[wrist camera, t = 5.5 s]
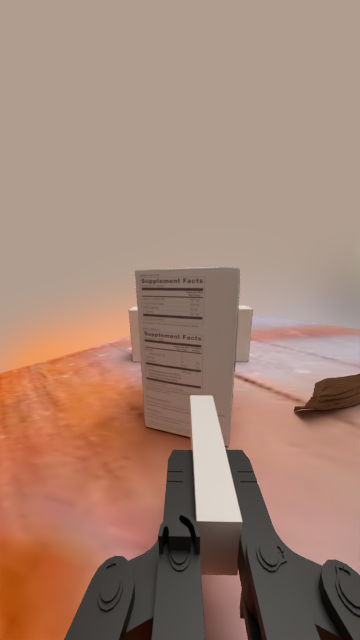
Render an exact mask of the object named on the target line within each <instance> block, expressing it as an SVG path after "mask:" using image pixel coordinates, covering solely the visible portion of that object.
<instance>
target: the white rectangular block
mask: <svg viewBox="0 0 360 640" xmlns="http://www.w3.org/2000/svg"><path fill="white" fill-rule="evenodd" d="M252 315H253V309H251V308H250V307H248V306H244V305H243V306H239V312H238V328H237V344H236V360H235V361H249V351H250V339H251V327H252ZM129 319H130V333H131V345H132V358H133V362H141V354H140V338H139V323H138V308H137V306H136V307H133V308H131V309H130V310H129Z"/></svg>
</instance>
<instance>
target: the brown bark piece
mask: <svg viewBox="0 0 360 640" xmlns="http://www.w3.org/2000/svg"><path fill="white" fill-rule="evenodd" d="M359 403H360V374H357V375H352V376H346V377H338V378H327V379H324V380H322V381H319V382H317V383H315V388H314V392H313V397H311V399H310V400H309V401H308V402H307V403H306V405H305V406H297V407H295V409H294V411H297V410H300V409H316V410H327V409H335V408H344V407H348V406H354V405H356V404H359Z"/></svg>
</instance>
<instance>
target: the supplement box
mask: <svg viewBox="0 0 360 640" xmlns="http://www.w3.org/2000/svg"><path fill="white" fill-rule="evenodd" d="M135 276H136V292H137V308H138V323H139V338H140V354H141V370H142V386H143V401H144V416H145V426H146V427H150V428H154V429H158V430H162V431H167V432H171V433H175V434H179V435H183V436H187V437H190V395H212V396H213V399H214V403H215V408H216V412H217V416H218V420H219V424H220V429H221V433H222V437H223V441H224V446H229V439H230V427H231V413H232V400H233V387H234V373H235V360H236V344H237V328H238V312H239V292H240V269H239V268H238V267H207V268H170V269H143V270H136V271H135Z"/></svg>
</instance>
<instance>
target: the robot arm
mask: <svg viewBox="0 0 360 640" xmlns="http://www.w3.org/2000/svg"><path fill="white" fill-rule="evenodd" d="M190 440H191V450H173V451H172V453H171V455H170V457H169V459H168V470H167V483H166V495H165V507H164V519H163V522H162V524H161V526H160V530H159V534H158V540H157V542H156V544H155V545H154V546H153V547H152V548H151V549H150V550H149V551H147V552H146V553H144V554H142V555H140V556H138V557H136V558H134V559H131V560H129V561H128V560H127V559H125V558H124V557H123V556H114V557H112V558H110V559H107V560H106V561H105V562H104V563H103V564H102V565H101V566H100V567H99V568H98V570H97V571H96V573H95V575H94V576H93V578H92V580H91V582H90V584H89V586H88V588H87V591H86V593H85V595H84V597H83V599H82V602H81V604H80V606H79V608H78V610H77V613H76V615H75V617H74V619H73V621H72V624H71V626H70V628H69V630H68V632H67V635H66V637H65V639H64V640H205V633H204V616H203V599H202V582H201V574H202V575H237V573H238V570H239V575H240V581H241V586H242V592H241V601H240V618H244V619H245V625H246V630H247V636H248V640H360V575H359V574H358V573H357V572H356V571H354V570H353V569H352V568H351V567H349V566H348V565H347V564H345V563H342V562H340V561H338V560H327V561H326V562H325V563H324V564H323V566H322V565H319V564H317V563H315V562H313V561H310V560H308V559H306V558H304V557H302V556H300V555H298V554H296V553H294V552H293V551H292V550H290V549H289V548H288V547H287V546H286V545H285V544H284V543H283V542H282V540H281V539H280V538H279V536H278V535H277V533H276V532H275V529H274V527H273V525H272V522H271V519H270V517H269V514H268V511H267V508H266V505H265V502H264V500H263V497H262V494H261V491H260V488H259V485H258V484H257V480H256V477H255V474H254V471H253V468H252V466H251V463H250V460H249V459H248V457H247V456H246V455H245V453H244V452H243V451H242V450H225V446H224V441H223V437H222V433H221V429H220V424H219V420H218V416H217V412H216V408H215V403H214V399H213V396H212V395H190Z"/></svg>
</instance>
